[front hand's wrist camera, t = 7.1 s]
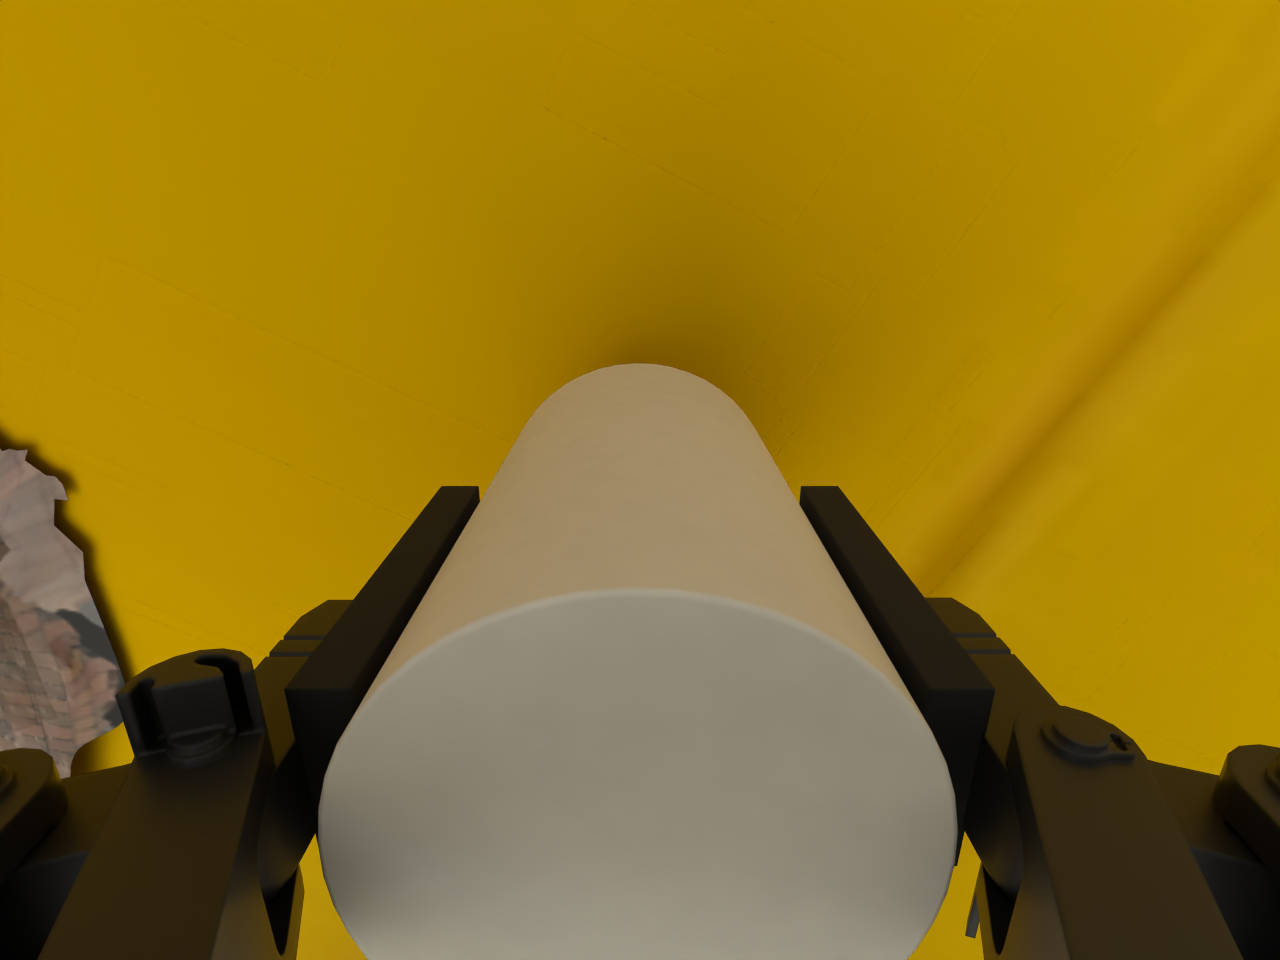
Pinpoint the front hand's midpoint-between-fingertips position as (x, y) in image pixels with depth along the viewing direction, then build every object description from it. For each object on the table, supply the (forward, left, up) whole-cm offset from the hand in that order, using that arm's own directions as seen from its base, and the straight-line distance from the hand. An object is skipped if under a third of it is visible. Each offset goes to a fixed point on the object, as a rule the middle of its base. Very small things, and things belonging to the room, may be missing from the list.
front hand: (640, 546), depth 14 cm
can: (0, 0, -3) cm, 3 cm away
